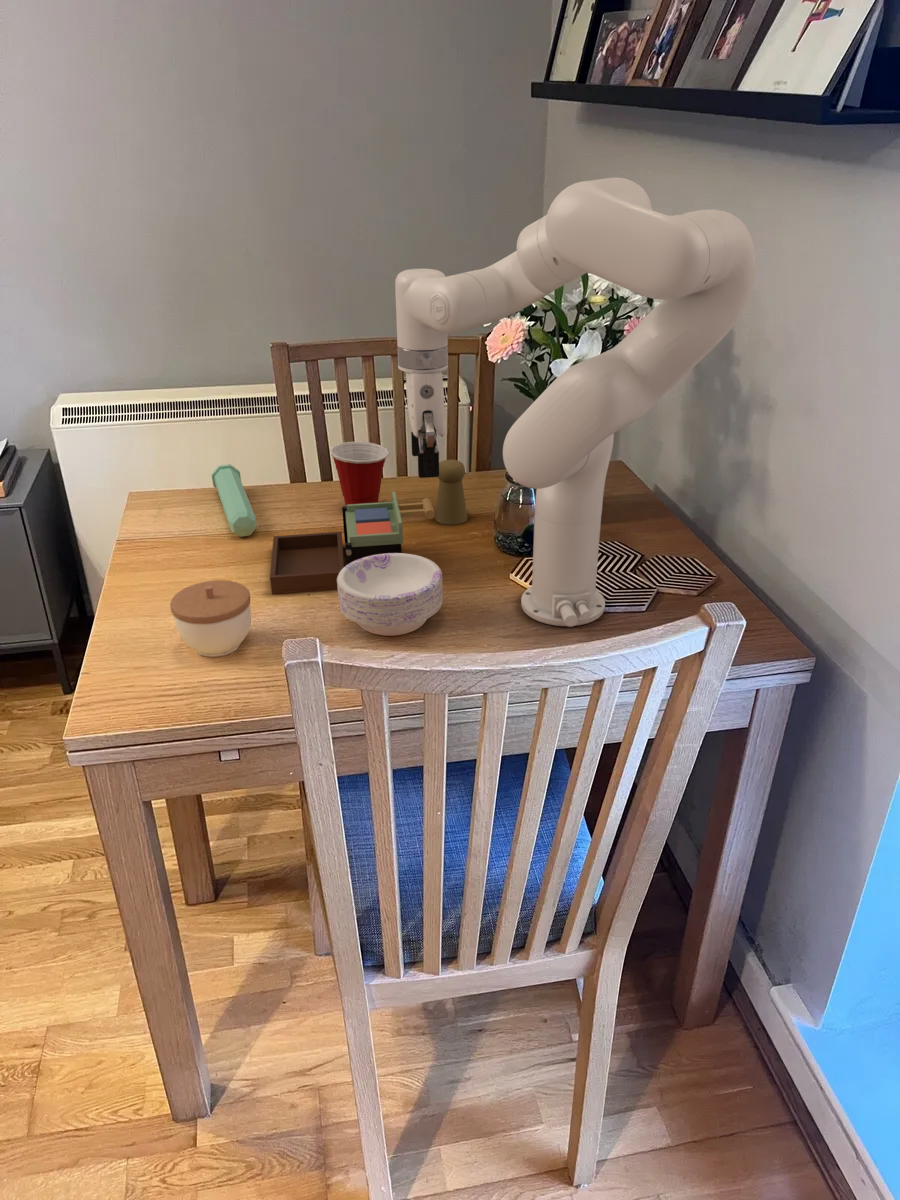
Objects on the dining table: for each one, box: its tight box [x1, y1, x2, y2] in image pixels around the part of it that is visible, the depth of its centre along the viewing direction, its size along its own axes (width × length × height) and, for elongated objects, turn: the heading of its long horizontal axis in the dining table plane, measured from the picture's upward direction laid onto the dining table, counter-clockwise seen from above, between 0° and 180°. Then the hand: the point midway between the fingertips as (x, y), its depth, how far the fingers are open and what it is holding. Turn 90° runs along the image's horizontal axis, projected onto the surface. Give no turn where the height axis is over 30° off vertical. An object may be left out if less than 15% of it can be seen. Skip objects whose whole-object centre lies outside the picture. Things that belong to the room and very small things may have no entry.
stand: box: [341, 506, 402, 565], centre depth 144 cm, size 17×9×8 cm, turn 8°
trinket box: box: [169, 579, 252, 658], centre depth 121 cm, size 11×11×9 cm
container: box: [211, 463, 258, 538], centre depth 164 cm, size 6×6×25 cm
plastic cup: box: [329, 441, 389, 507], centre depth 163 cm, size 11×11×12 cm
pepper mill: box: [434, 459, 468, 526], centre depth 159 cm, size 6×6×11 cm
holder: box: [269, 531, 345, 595], centre depth 143 cm, size 16×12×3 cm
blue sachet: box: [355, 507, 390, 523], centre depth 144 cm, size 5×6×1 cm
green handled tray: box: [345, 491, 436, 547], centre depth 142 cm, size 13×14×4 cm
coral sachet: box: [356, 521, 392, 535], centre depth 139 cm, size 5×6×1 cm
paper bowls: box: [337, 552, 444, 637], centre depth 127 cm, size 15×15×8 cm
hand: (425, 465), depth 139 cm, fingers open, 9 cm apart
